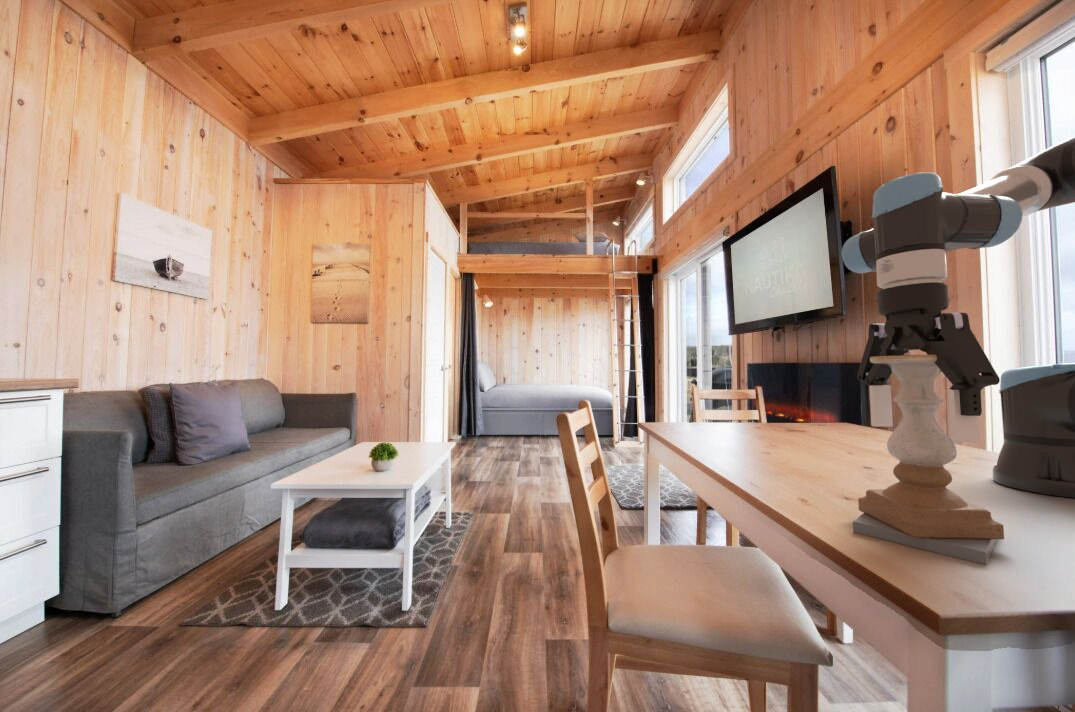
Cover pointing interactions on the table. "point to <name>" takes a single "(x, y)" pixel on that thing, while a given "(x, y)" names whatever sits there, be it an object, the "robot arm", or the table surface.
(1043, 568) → the table surface
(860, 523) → the slate tile
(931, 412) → the candle holder
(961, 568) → the table surface
